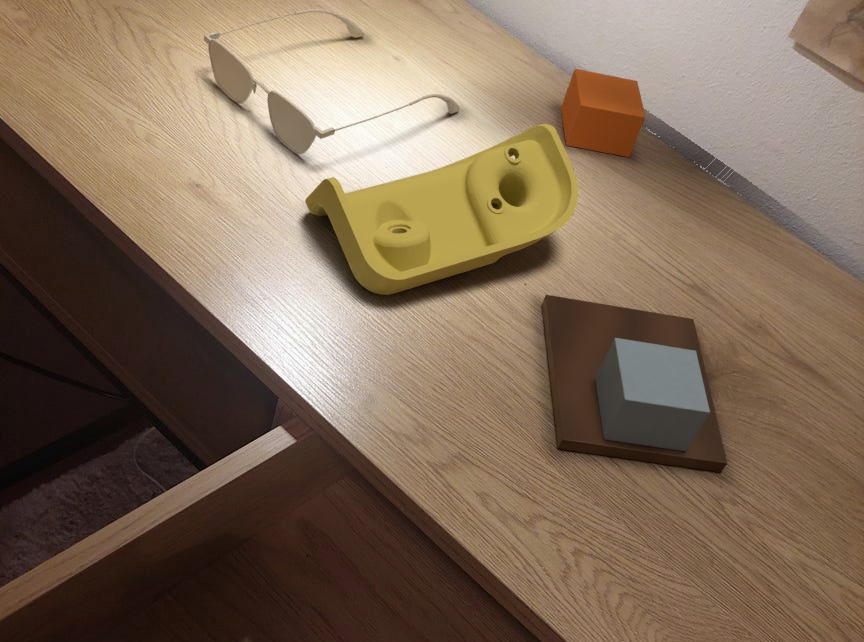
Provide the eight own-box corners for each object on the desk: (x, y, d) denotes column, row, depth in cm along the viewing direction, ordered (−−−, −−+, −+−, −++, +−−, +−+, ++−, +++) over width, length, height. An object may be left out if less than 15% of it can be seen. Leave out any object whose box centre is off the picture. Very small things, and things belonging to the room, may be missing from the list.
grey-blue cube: (673, 390, 78) (696, 350, 74) (685, 452, 74) (710, 412, 71) (594, 378, 77) (614, 337, 74) (603, 440, 73) (625, 399, 70)
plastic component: (377, 287, 76) (322, 159, 76) (346, 326, 83) (296, 209, 83) (596, 221, 83) (545, 105, 83) (551, 262, 90) (504, 154, 90)
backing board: (688, 328, 84) (693, 318, 83) (721, 472, 75) (727, 463, 74) (541, 304, 82) (545, 294, 81) (557, 449, 73) (562, 439, 73)
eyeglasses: (199, 73, 92) (201, 28, 88) (354, 30, 101) (362, -13, 98) (313, 172, 86) (320, 128, 83) (466, 117, 96) (478, 75, 92)
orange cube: (621, 120, 100) (637, 80, 97) (629, 157, 97) (646, 117, 94) (560, 108, 100) (574, 68, 96) (565, 145, 96) (580, 104, 93)
